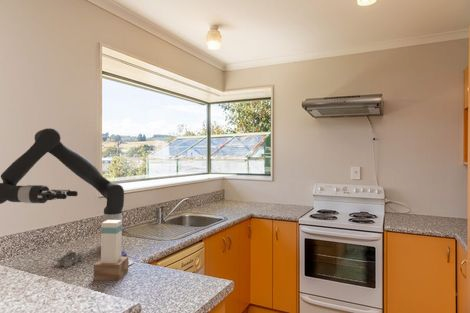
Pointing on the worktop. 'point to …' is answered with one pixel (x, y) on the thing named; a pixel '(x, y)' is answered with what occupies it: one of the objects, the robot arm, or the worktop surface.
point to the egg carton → (69, 259)
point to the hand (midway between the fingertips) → (71, 194)
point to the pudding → (128, 259)
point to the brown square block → (111, 270)
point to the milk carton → (111, 241)
